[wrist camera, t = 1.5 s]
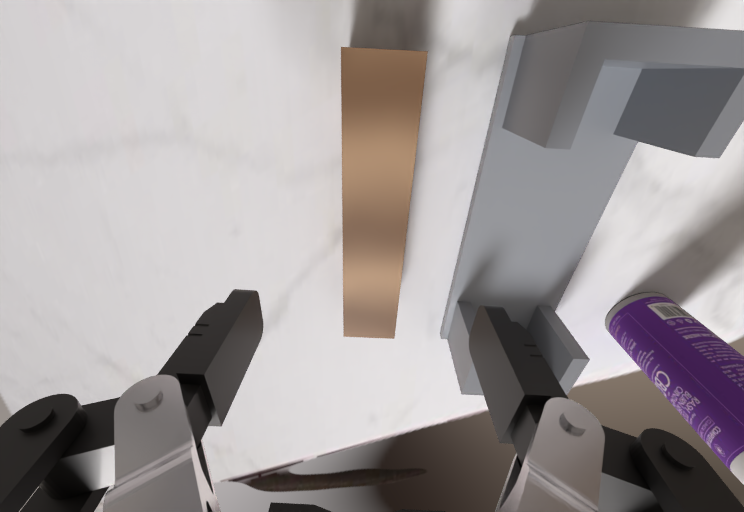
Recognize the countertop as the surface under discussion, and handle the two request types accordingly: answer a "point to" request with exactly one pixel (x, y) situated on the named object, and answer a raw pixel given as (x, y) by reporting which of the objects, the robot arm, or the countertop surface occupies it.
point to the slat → (377, 180)
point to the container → (687, 369)
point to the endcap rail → (578, 163)
